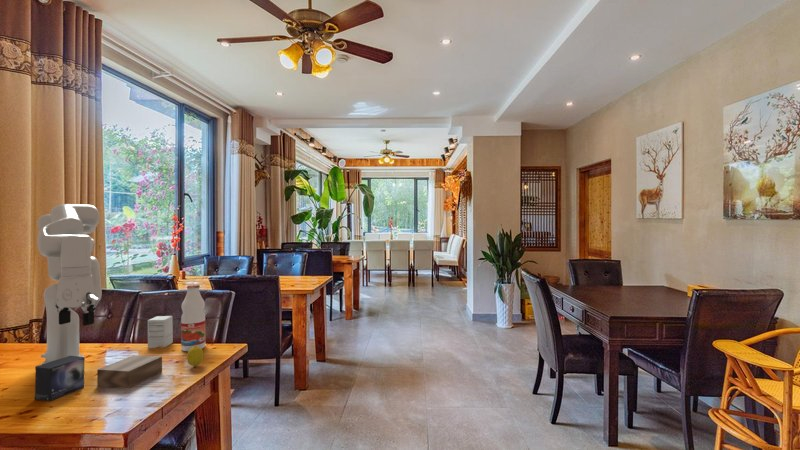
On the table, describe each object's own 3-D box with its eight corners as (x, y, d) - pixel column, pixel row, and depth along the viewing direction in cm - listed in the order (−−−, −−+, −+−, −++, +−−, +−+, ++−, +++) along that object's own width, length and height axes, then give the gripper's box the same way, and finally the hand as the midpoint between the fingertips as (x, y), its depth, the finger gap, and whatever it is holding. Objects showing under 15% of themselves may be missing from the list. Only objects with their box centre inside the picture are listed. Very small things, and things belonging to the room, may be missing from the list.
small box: (49, 402, 112) (49, 368, 112) (33, 400, 114) (33, 366, 114) (85, 387, 123) (85, 356, 123) (70, 386, 124) (70, 354, 124)
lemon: (206, 365, 142) (206, 344, 142) (194, 370, 136) (194, 348, 137) (196, 363, 144) (195, 343, 144) (183, 368, 138) (183, 347, 138)
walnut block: (97, 387, 123) (97, 369, 123) (133, 371, 137) (133, 355, 137) (128, 389, 121) (128, 371, 121) (162, 372, 135) (162, 356, 135)
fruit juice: (208, 344, 168) (207, 283, 168) (202, 350, 158) (201, 286, 159) (185, 345, 165) (185, 284, 166) (177, 352, 156) (177, 287, 157)
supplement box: (156, 343, 170) (156, 316, 170) (173, 342, 170) (173, 315, 170) (147, 348, 162) (146, 320, 163) (164, 347, 163) (164, 319, 163)
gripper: (42, 273, 119) (42, 326, 119) (85, 273, 116) (85, 328, 115) (67, 270, 127) (68, 320, 126) (108, 271, 123) (108, 322, 123)
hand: (76, 324), depth 121 cm, fingers open, 9 cm apart
